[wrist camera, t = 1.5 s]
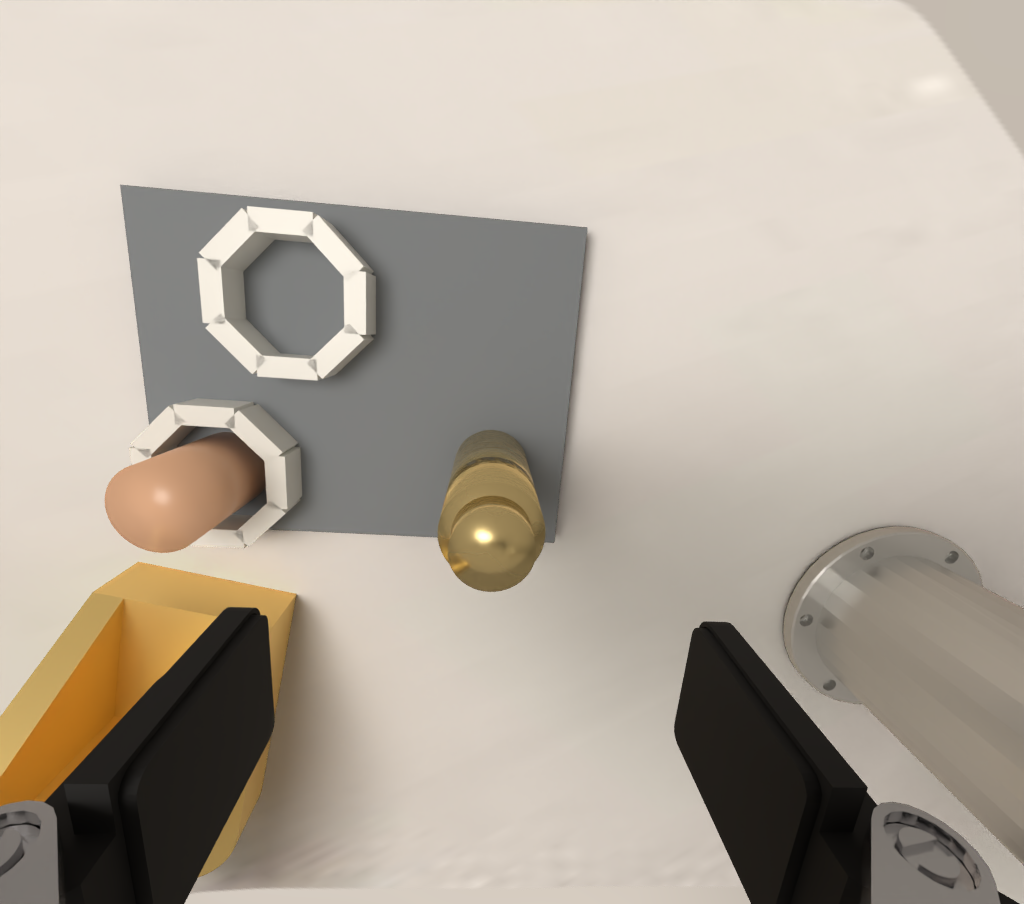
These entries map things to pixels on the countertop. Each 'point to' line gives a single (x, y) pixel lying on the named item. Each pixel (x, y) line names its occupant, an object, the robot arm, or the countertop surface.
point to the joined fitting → (204, 478)
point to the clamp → (125, 677)
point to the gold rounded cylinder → (491, 514)
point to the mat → (372, 348)
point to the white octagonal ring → (227, 293)
